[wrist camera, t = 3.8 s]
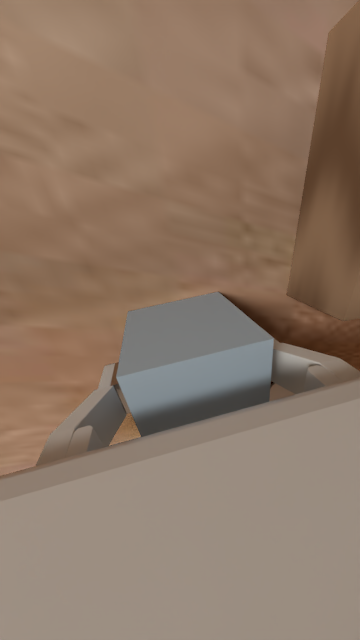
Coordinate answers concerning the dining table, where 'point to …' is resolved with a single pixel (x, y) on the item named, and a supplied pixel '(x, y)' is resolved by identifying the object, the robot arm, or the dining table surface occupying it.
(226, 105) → the dining table surface
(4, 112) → the dining table surface
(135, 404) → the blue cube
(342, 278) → the walnut block
